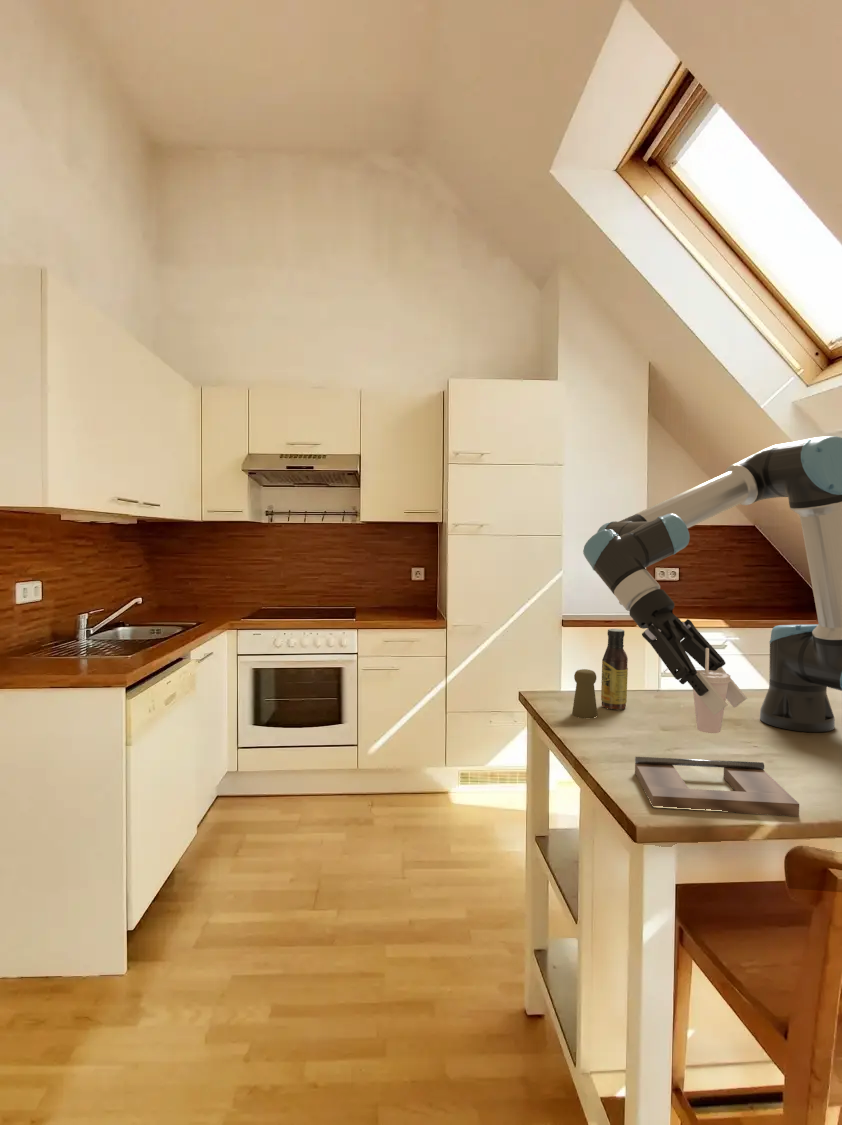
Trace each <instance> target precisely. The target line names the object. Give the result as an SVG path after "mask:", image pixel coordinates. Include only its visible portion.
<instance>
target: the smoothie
mask: <svg viewBox="0 0 842 1125" xmlns="http://www.w3.org/2000/svg"><path fill="white" fill-rule="evenodd" d="M696 671H697V674H698V673H700V672H702V674H703V675H704V676H705V677H706V679H707V680H708V681H709V682H710V683H711V685H712V686H713V687H714V688H715V690H716V691H717V692H718V693H719V695H720V696H721V697H722V698H723V700H724V701H725V702H726V700H727V699H726V695H727V689H728V683H729V682H730V681H731V680H730V678H731V675H730V674H729V673H727V672H726V673H724V672H719V671H712V670H709V648H706V653H705V669H698V670H697V669H696ZM697 674H696V675H697ZM692 692H693V701H694V711H695V712H694V714H695V723H696V729H697V731H698V732H699V731H700V732H702V733H706V734H707V733H708V734H719V733H721V731H722V724H723V719H724V712H725V708H723V709H722V710H721V711H719V712H718V713H717V714H715V715H714V714H713V713H712V712H711V711H710V709H709V708H708V707H707V706H706V704H705V703H704V702H703V701H702V699H701V698H700V697H699V695H698V694H697V693H696V692H695V690H694V689H693V688H692Z"/></svg>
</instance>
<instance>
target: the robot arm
mask: <svg viewBox="0 0 842 1125" xmlns="http://www.w3.org/2000/svg"><path fill="white" fill-rule="evenodd" d="M775 498H787V499H788V505H789V509H790V510H791V511H793V512H794V513H796V514H797V515H798V516H799V520H800V525H801V530H802V531H801V532H802V535H803V541H804V549H805V554H806V559H807V564H808V565H807V566H808V570H809V576H810V581H811V588H812V593H813V597H814V598H813V599H814V600H813V601H814V603H815V604H814V605H815V610H816V615H817V622H818V623H817V624H779V625H775V626H774V627H773V628H771V631H770V640H769V675H768V676H769V683H768V690H767V692H766V694H765V697H764V700H763V702H762V704H761V706H760V709H759V711H760V712H759V720H760V721H762V722H763V723H764V724H767V725H770V726H772V727H775V728H779V729H783V730H789V731H797V732H803V733H804V732H807V733H823V732H830V731H833V730H834V729H835V723H836V722H835V720H836V719H835V716H834V713H833V709H832V706H831V704H830V700H829V697H828V693H827V692H828V691H827V688H830V689H833V690H837V691H839V692H842V437H841V436H835V435H832V436H815V437H811V438H806V439H801V440H796V441H795V440H794V441H791V442H783V443H778V444H774V445H771V446H769V447H765V448H764V449H762V450H760V451H757V452H755V453H753V454H751V455H750V456H748V457H745V458H743V459H741V460H740V461H738V462H735V463H733V464H730V465H729V466H727V468H726V469H725V471H724V473H722V474H720V475H718V476H716V477H713V478H712V479H709V480H707V481H705V482H704V481H703V482H702V483H701V484H698V485H696V486H694V487H692V488H690V489H687V490H684V491H682V492H681V493H678V494H676V495H674V496H672V497H669V498H668V499H666V500H662V501H660V502H659V503H657V504H654V505H652V506H650V507H648V508H646V509H643V510H642V511H639V512H637V513H635V514H632V515H630V516H628V517H625V518H624V519H621V520H619V521H616V520H615V521H610V522H607V523H603V524H602V525H601V526H600V527H599V528H598V530H597V531H596V533H594V534H593V535H592V536H591V537H589V539H588V540H586V543H585V544H584V546H583V551H582V553H583V556H584V558H585V559H586V561H587V563H588V564H589V565H590V566H591V568H592V571H594V572H595V573H596V574H597V575H598V577H599V578H600V579H601V580H602V581H603V583H604V584H605V585H606V586H607V588H608V589H609V590H610V592H611V593H612V594H613V595H614V596H615V598H616V599H617V600H618V604H619V605H621V606H622V607H623V608H624V610H626V611H629V616H630V618H632V620H633V622H635V624H636V625H637V626H638V627H639V628H640V629H643V630H644V631H643V632H642V633H641V636H642V638H644V639H645V640H646V641H647V642H648V643H649V644H650V646H651V647H652V648H653V649H654V651H655V652H656V654H657V655H658V657H659V658H660V659H661V662H663V664H664V666H666V668H667V669H668V670H669V672H670V673H671V675H672V676H673V678H674V679H675V680H677V681H678V682H679V683H680V684H681V685H684V684H686V683H688V684H689V686H690V687H691V688H692V690H693V689H694V690H695V692H696V693H697V694H698V695H699V697H700V698H701V699H702V701H703V702H704V703H705V704H706V706H707V707H708V708H709V709H710V711H711V712H712V713H713V714H714V715H715V714H717V713H718V712H719V711H721V710H722V709H723V708H724V709H725V708H726V707H727V706H728V705H729V704H730V706H732V708H737V707H738V706H739V705H740V704H742V703H743V702H745V701H746V700H747V699H748V697H747V696H746V694H745V693H744V692H743V691H742V690H741V689H740V687H739V686H738V685H737V684H736V683H735V682H734V680H733V679H732V677H730V680H731V681H730V682H729V683H728V689H727V695H726V700H727V701H728V702H729V704H728V703H727V702H726V701H724V700H723V698H722V697H721V696H720V695H719V693H718V692H717V691H716V690H715V688H714V687H713V686H712V685H711V683H710V682H709V681H708V680H707V679H706V677H705V676H704V675H703V674H702V672H700V673H698V674H697V671H696V670H697V669H696V667H695V665H694V664H693V662H692V660H691V658H692V659H693V660H694V661H695V662H696V663H697V664H698V665H700V666H701V667H702V668H703V670H705V653H706V648H709V670H712V671H719V672H724V673H727V672H726V670H725V669H724V668H723V667H724V666H725V665H726V661H725V659H724V658H723V657H722V656H721V655H720V654H719V653H718V652H717V651H716V649H715V647H713V646H712V645H711V644H710V643H709V642H708V640H707V639H706V638H705V637H704V636H703V635H702V633H700V631H699V630H698V629H697V628H696V626H695V625H694V623H693V622H692V620H690V619H689V618H687V619H686V620H685V621H682V620H681V619H680V618H679V617H677V616H676V614H674V612H673V610H674V609H675V602H674V601H673V599H672V598H671V597H670V596H669V595H668V593H667V592H666V591H665V590H664V589H661V585H660V584H659V582H657V580H656V579H655V578H654V577H653V575H652V574H651V573H650V572H649V571H648V570H647V568H649V567H650V566H651V565H654V564H656V563H658V562H660V561H662V560H664V559H666V558H668V557H670V556H674V555H676V554H677V553H678V552H680V551H682V550H683V549H685V548H686V547H687V546H688V545H689V542H690V538H691V536H690V532H689V529H690V528H692V527H694V526H696V525H698V524H700V523H702V522H704V521H706V520H709V519H710V518H713V517H716V516H717V515H719V514H721V513H723V512H726V511H728V510H730V509H733V508H735V507H737V506H739V505H742V506H749V505H751V504H754V503H756V502H760V501H763V500H768V499H775ZM689 656H690V657H691V658H690V657H689ZM696 674H697V675H696Z"/></svg>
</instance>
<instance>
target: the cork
mask: <svg viewBox="0 0 842 1125" xmlns="http://www.w3.org/2000/svg"><path fill="white" fill-rule="evenodd" d="M573 678H574V682H575V683H576V684H575V691H574V698H573V706H572V712H571V715H572V716H573V717H575V718H578V717H579V719H586V718H590V719H595V718H594V717H596V716H597V715H598V707H597V698H596V691H595V689H596V688H595V683H596V682H597V674H596V672H595V671H594V670H591V669H585V668H584V669H583V668H582V669H577V670H576V671H575V672H574V677H573ZM597 717H598V716H597ZM597 717H596V718H597Z"/></svg>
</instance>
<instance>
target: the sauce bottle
mask: <svg viewBox="0 0 842 1125" xmlns="http://www.w3.org/2000/svg"><path fill="white" fill-rule="evenodd" d="M624 637H625V630H624V629H621V628H609V629H607V647H606V649H605V652H604V655H603V657H602V661H601V688H600V689H601V691H600V692H601V693H600V694H601V695H600V700H601V706H603V707H602V708H604V707H605V708H604V709H607V708H608V709H607V710H612V709H615V710H614V711H616V709H622V710H625V709H626V707H627V705H626V704H627V702H628V700H627V698H628V676H629V675H628V673H629V672H628V671H629V668H628V663H629V662H628V661H629V660H628V654H627V653H626V651H625V650H624V649H625V648H624Z"/></svg>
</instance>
